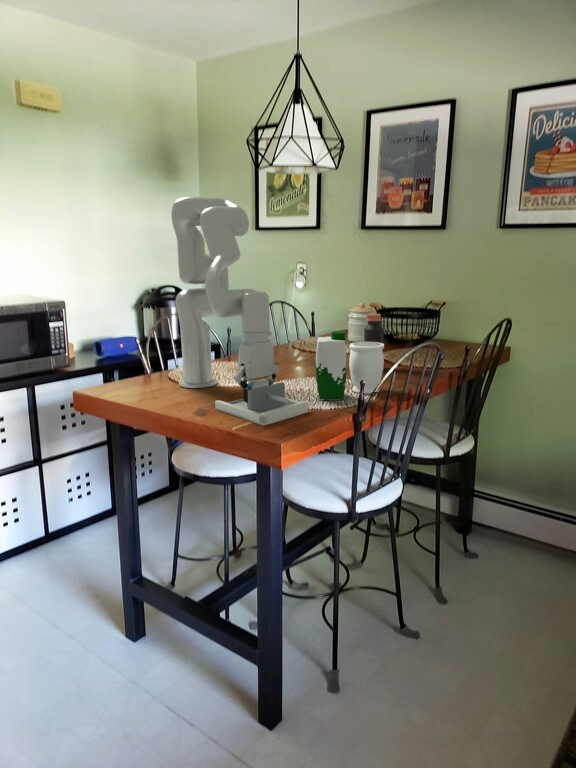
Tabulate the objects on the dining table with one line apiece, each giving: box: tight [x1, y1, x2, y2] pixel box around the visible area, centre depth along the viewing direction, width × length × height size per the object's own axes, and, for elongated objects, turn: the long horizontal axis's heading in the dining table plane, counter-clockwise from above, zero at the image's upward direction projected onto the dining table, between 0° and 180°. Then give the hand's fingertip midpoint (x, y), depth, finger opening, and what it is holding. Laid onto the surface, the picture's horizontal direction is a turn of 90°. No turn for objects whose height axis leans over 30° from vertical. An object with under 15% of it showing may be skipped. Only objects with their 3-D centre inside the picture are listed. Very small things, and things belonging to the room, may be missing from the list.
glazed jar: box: [246, 377, 269, 407], centre depth 160 cm, size 6×6×8 cm
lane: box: [214, 397, 309, 426], centre depth 160 cm, size 21×16×3 cm
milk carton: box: [315, 330, 347, 400], centre depth 170 cm, size 9×9×20 cm
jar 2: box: [348, 342, 385, 395], centre depth 177 cm, size 11×10×15 cm
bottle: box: [364, 313, 384, 353], centre depth 206 cm, size 7×7×20 cm
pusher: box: [248, 381, 290, 412], centre depth 154 cm, size 9×12×6 cm
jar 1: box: [347, 302, 375, 343], centre depth 266 cm, size 13×13×18 cm
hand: (257, 399), depth 160 cm, fingers closed on glazed jar, 6 cm apart
